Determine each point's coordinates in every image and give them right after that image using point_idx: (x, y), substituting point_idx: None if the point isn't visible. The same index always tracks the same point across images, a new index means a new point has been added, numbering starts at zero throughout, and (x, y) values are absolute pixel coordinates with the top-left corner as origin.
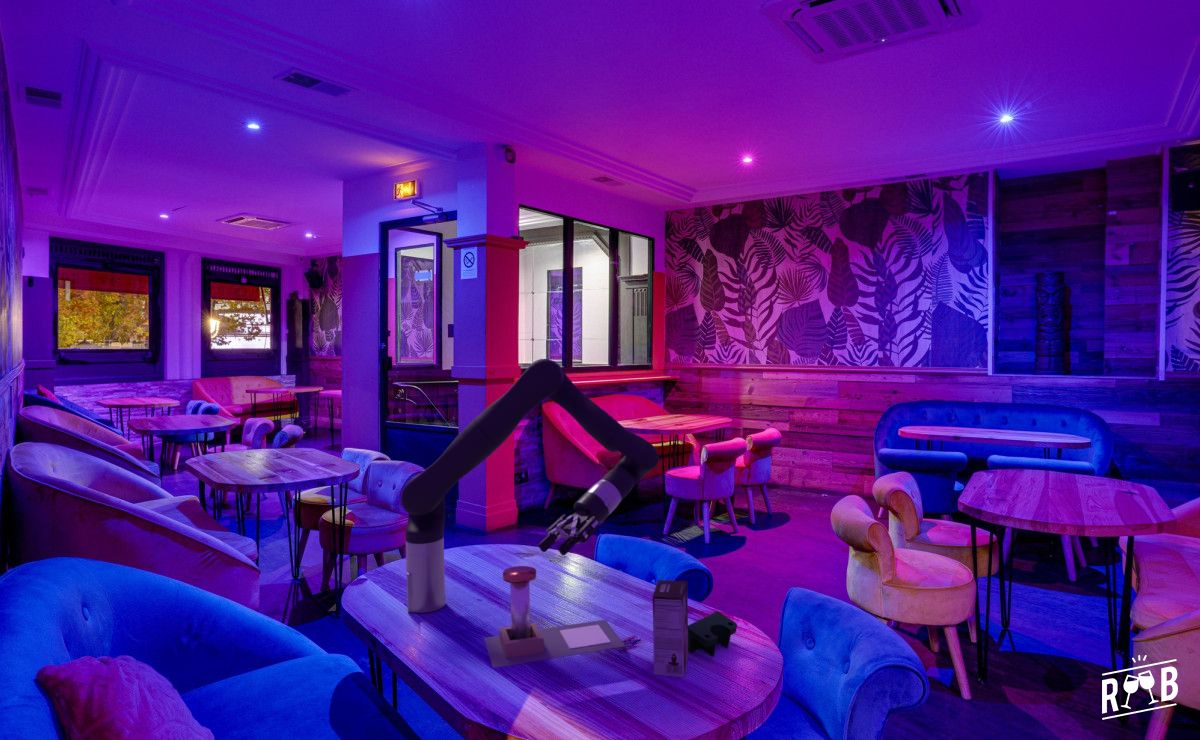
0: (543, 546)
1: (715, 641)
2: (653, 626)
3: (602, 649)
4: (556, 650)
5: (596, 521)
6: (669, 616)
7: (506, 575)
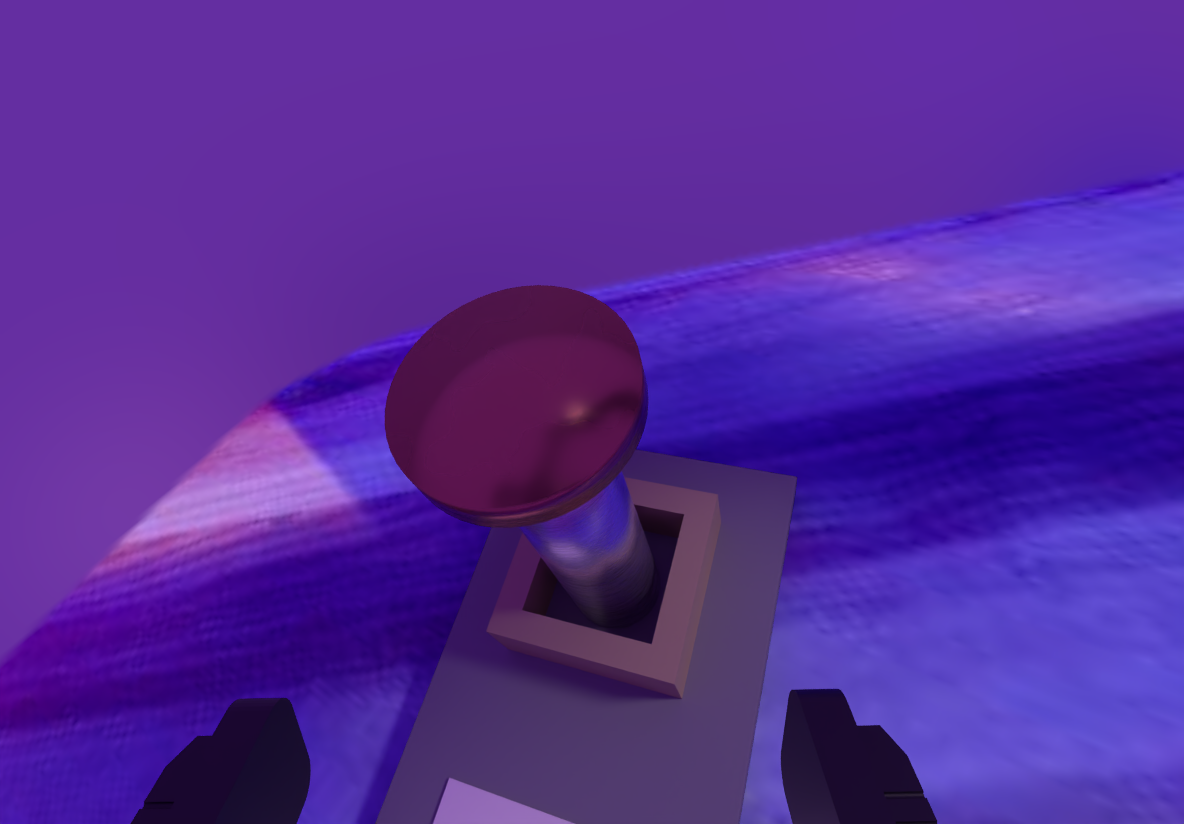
0: (796, 758)
1: None
2: None
3: None
4: (485, 710)
5: None
6: None
7: (505, 294)
